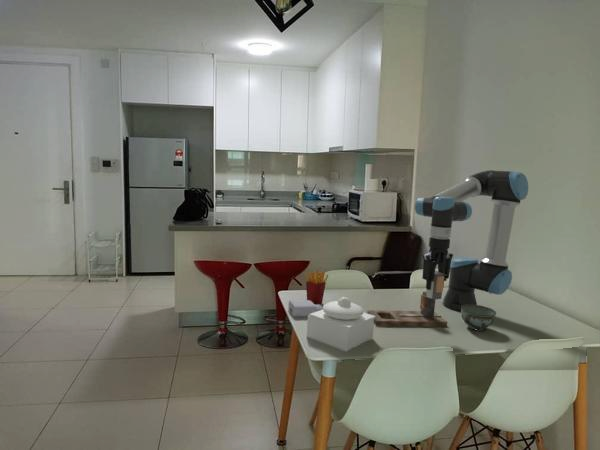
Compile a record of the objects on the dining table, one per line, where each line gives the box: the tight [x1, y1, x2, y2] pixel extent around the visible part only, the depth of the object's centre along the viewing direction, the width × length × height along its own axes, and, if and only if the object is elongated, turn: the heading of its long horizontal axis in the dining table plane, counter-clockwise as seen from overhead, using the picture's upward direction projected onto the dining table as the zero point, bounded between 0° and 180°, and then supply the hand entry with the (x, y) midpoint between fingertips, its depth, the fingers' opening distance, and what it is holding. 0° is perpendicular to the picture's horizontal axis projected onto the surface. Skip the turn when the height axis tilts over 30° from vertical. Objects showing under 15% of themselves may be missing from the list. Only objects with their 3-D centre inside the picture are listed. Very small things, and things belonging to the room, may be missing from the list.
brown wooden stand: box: [366, 291, 448, 327], centre depth 192 cm, size 30×13×12 cm, turn 98°
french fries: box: [305, 270, 329, 305], centre depth 209 cm, size 9×8×15 cm
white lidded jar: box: [306, 296, 376, 352], centre depth 168 cm, size 18×18×16 cm
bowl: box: [460, 304, 497, 331], centre depth 188 cm, size 14×13×8 cm
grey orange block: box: [429, 270, 445, 301], centre depth 177 cm, size 5×4×10 cm
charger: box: [288, 299, 324, 318], centre depth 194 cm, size 5×9×15 cm
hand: (433, 296), depth 178 cm, fingers closed on grey orange block, 4 cm apart
